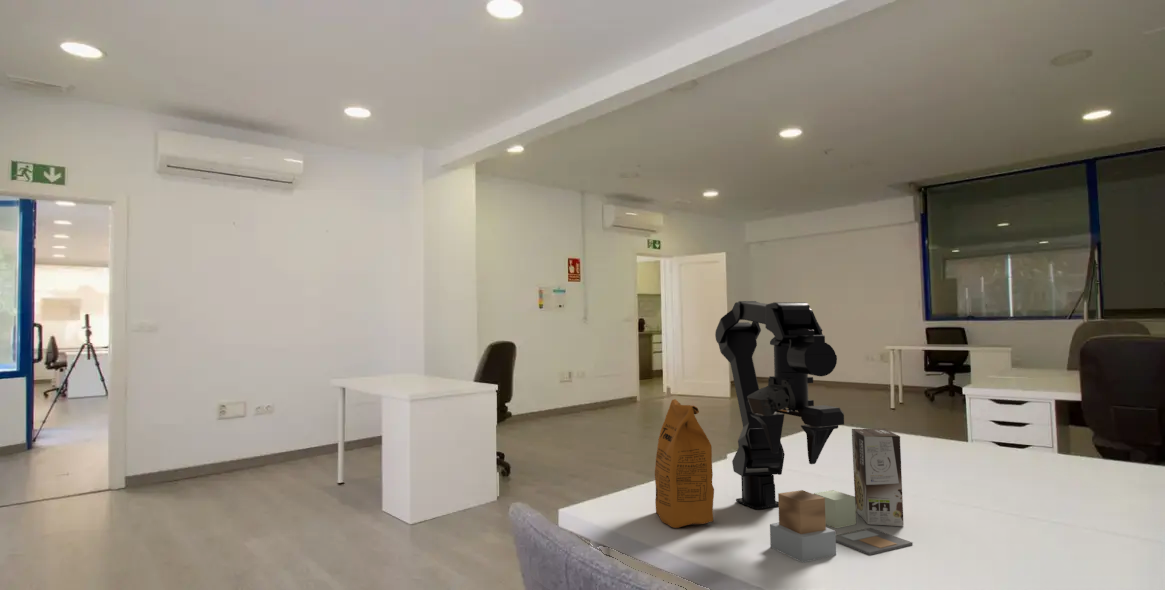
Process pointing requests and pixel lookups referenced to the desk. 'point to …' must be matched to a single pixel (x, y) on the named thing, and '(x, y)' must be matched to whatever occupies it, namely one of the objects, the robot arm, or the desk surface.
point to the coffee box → (877, 476)
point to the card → (871, 541)
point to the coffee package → (683, 469)
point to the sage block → (839, 508)
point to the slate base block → (803, 543)
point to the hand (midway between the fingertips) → (792, 458)
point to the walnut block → (802, 511)
